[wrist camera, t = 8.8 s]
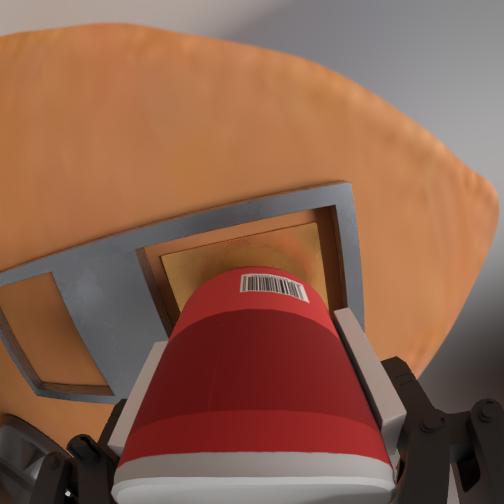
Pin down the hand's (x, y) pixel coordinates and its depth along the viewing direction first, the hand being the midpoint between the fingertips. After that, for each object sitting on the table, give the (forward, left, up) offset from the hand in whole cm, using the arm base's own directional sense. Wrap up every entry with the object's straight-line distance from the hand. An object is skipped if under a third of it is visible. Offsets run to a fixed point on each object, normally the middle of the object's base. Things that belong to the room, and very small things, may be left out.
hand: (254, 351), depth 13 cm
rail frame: (-9, 0, -4) cm, 10 cm away
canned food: (0, 0, -2) cm, 2 cm away
